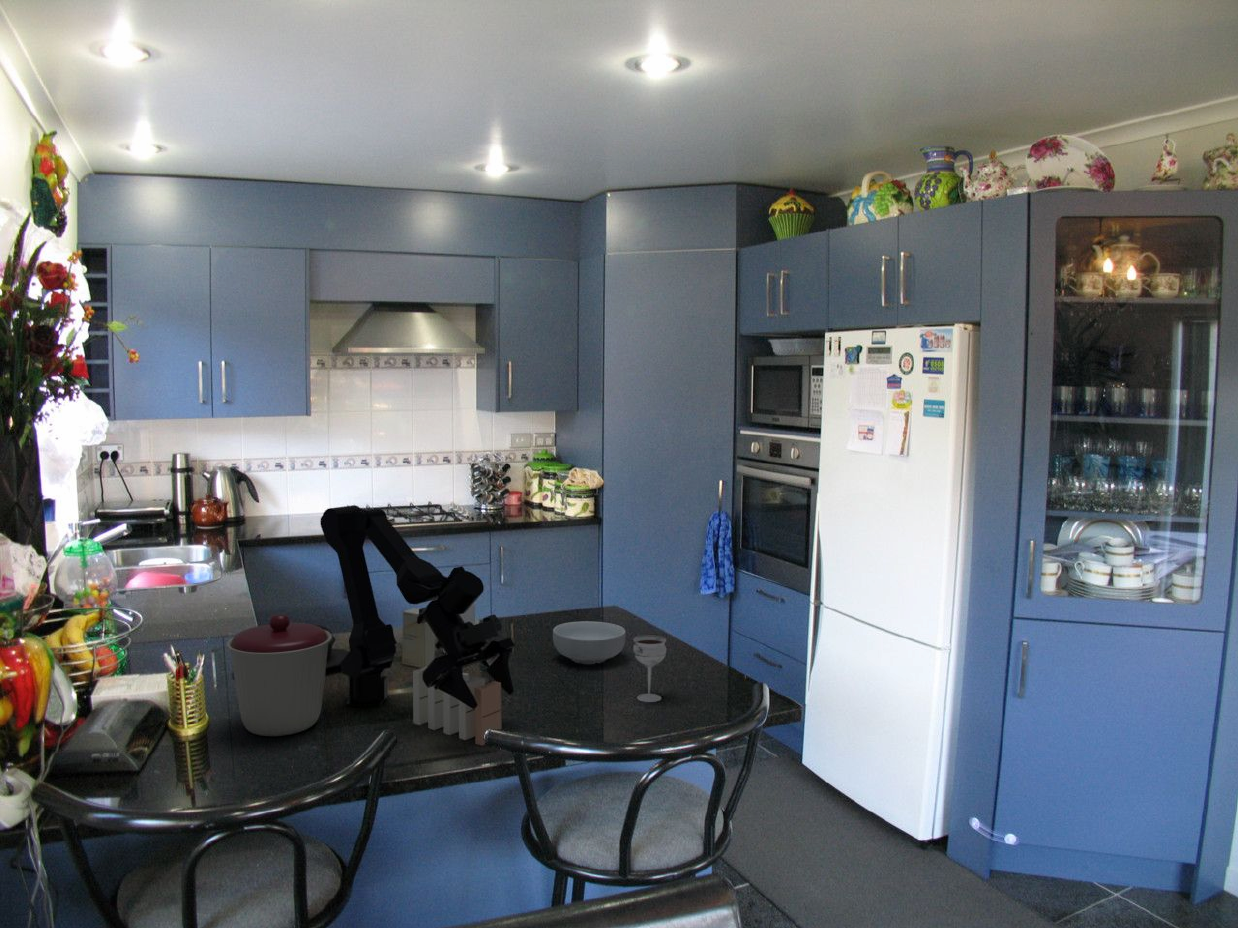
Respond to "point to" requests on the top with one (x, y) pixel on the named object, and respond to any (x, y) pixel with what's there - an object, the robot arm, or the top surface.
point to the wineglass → (649, 658)
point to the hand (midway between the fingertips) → (494, 700)
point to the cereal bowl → (589, 641)
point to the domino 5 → (487, 709)
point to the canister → (279, 675)
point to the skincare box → (417, 641)
